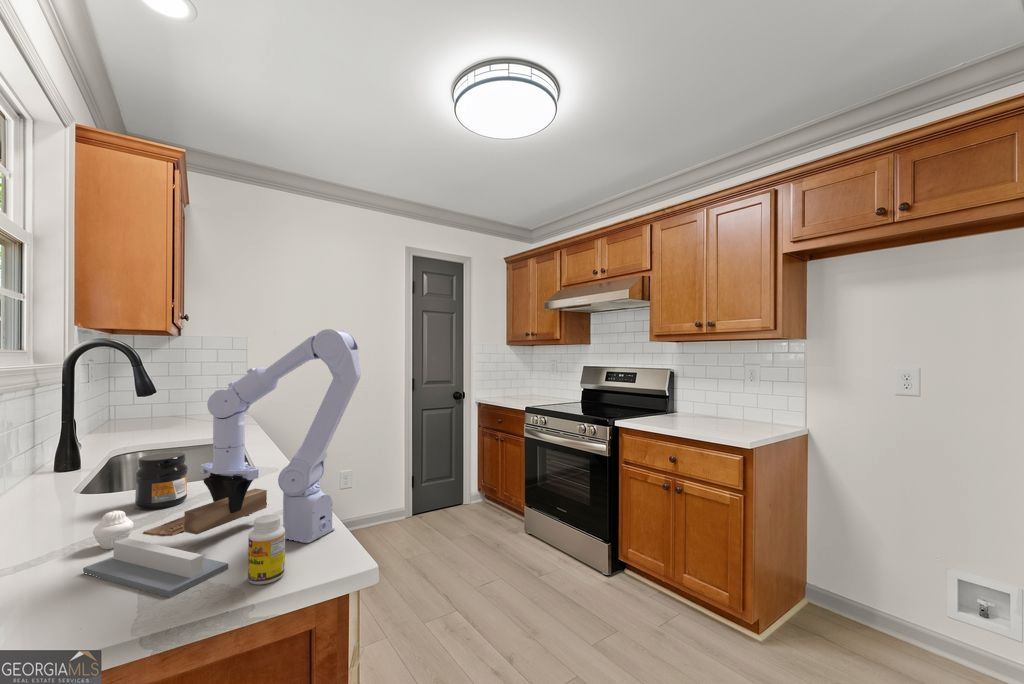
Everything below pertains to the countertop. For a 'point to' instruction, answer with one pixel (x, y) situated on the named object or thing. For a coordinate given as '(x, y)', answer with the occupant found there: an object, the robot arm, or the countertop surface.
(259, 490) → the walnut batten
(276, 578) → the supplement bottle
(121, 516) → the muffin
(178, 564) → the balance stand
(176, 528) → the fossil skeleton slab
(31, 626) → the countertop surface
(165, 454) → the supplement container
